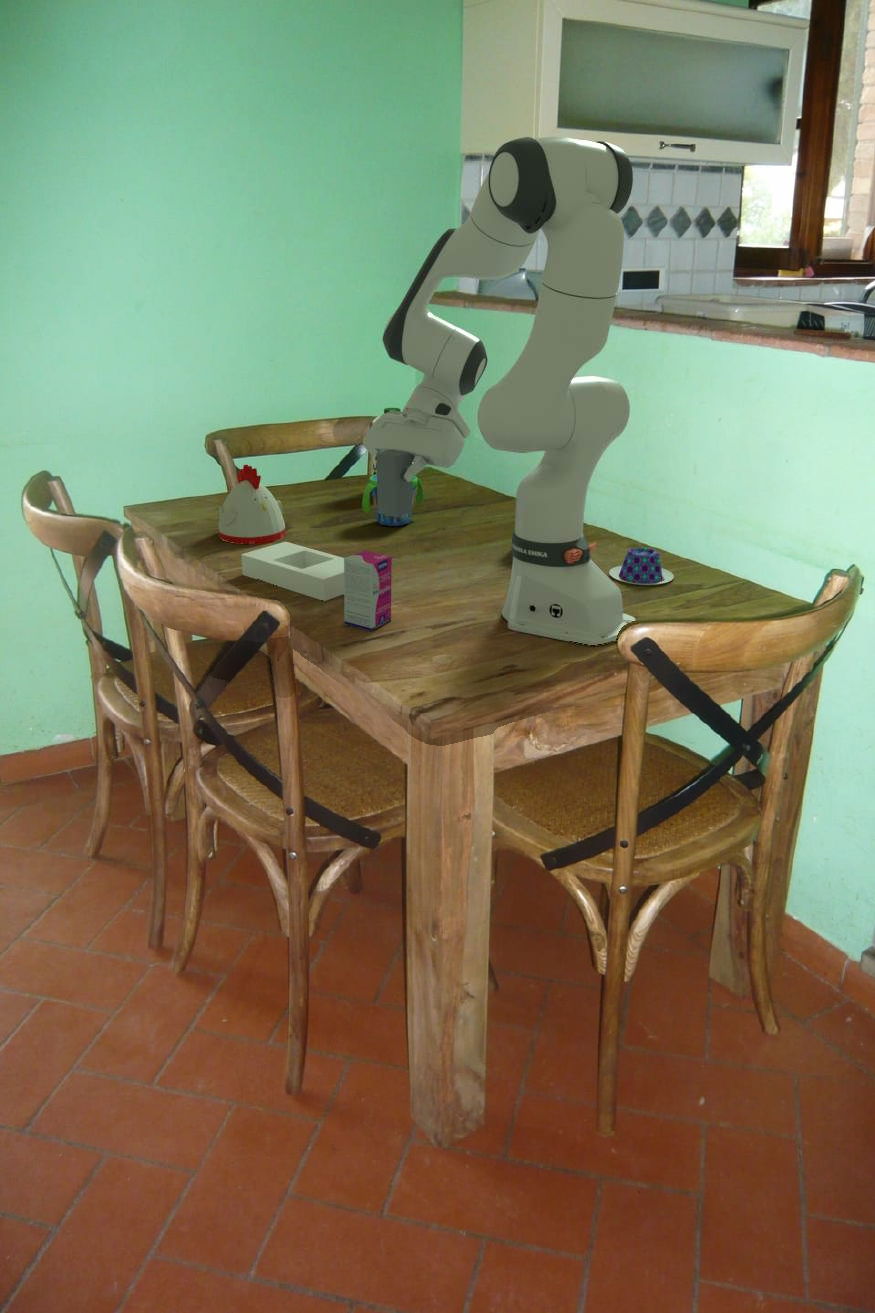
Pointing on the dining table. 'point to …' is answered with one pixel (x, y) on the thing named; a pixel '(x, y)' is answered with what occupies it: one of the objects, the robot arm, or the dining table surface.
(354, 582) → the supplement box
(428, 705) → the dining table surface
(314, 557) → the white socket block
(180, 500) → the dining table surface
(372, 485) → the snack cup
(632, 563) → the pudding
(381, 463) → the charcoal peg
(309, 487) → the dining table surface
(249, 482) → the kitchen timer
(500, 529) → the dining table surface
